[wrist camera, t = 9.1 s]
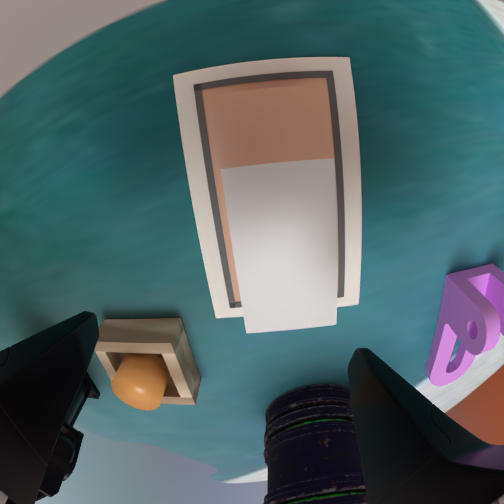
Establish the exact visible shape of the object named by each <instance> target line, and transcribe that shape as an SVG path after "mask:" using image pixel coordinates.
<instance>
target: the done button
mask: <svg viewBox="0 0 504 504" xmlns="http://www.w3.org/2000/svg"><path fill="white" fill-rule="evenodd" d="M169 376H170V372H169V370H168V367H167V365H166V363H165V362H164V361H163V360H162V359H161V358H160V357H159V356H157V355H155V354H151V353H126V354H125V356H124V358H123V360H122V362H121V364H120V366H119V368H118V370H117V372H116V374H115V376H114V378H113V380H112V382H111V388H112V390H113V392H114V393H115V395H116V396H117V397H118V398H119V399H120V400H121V401H123V402H124V403H126V404H128V405H130V406H132V407H134V408H137V409H141V410H154V409H156V408H158V407H159V406H160V404H161V401H162V398H163V395H164V391H165V388H166V385H167V382H168V379H169Z"/></svg>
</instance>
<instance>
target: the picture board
mask: <svg viewBox="0 0 504 504" xmlns="http://www.w3.org/2000/svg"><path fill="white" fill-rule="evenodd" d="M173 81H174V89H175V96H176V104H177V111H178V118H179V125H180V132H181V139H182V145H183V151H184V158H185V164H186V170H187V176H188V182H189V188H190V193H191V199H192V204H193V210H194V215H195V221H196V226H197V231H198V236H199V241H200V246H201V251H202V256H203V261H204V266H205V270H206V275H207V280H208V285H209V289H210V294H211V298H212V303H213V307H214V311H215V316H216V318H228V317H242V316H243V310H242V304H241V298H240V292H239V286H238V280H237V274H236V267H235V261H234V255H233V249H232V242H231V236H230V230H229V223H228V217H227V210H226V204H225V197H224V190H223V184H222V177H221V170H220V163H219V156H218V149H217V142H216V135H215V128H214V121H213V113H212V106H211V99H210V96H211V95H217V94H223V93H230V92H237V91H245V90H253V89H262V88H273V87H285V86H301V85H327V90H328V99H329V107H330V116H331V126H332V137H333V149H334V163H335V178H336V198H337V230H338V286H337V307H342V306H350V305H358V304H359V291H360V273H361V245H362V194H361V166H360V149H359V135H358V123H357V113H356V103H355V95H354V87H353V79H352V72H351V65H350V59H349V57H300V58H282V59H270V60H259V61H250V62H242V63H235V64H228V65H222V66H215V67H210V68H204V69H199V70H194V71H189V72H185V73H180V74H176V75H173Z"/></svg>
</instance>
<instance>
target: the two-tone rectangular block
mask: <svg viewBox="0 0 504 504" xmlns="http://www.w3.org/2000/svg"><path fill="white" fill-rule="evenodd" d="M210 99H211V106H212V113H213V121H214V128H215V135H216V142H217V149H218V156H219V163H220V170H221V177H222V184H223V190H224V197H225V204H226V210H227V217H228V223H229V230H230V236H231V242H232V249H233V255H234V261H235V267H236V274H237V280H238V286H239V292H240V298H241V304H242V310H243V316H244V322H245V327H246V333H258V332H271V331H282V330H293V329H302V328H312V327H320V326H329V325H336V318H337V286H338V230H337V198H336V178H335V163H334V149H333V137H332V126H331V116H330V107H329V99H328V90H327V85H301V86H285V87H273V88H262V89H253V90H245V91H237V92H230V93H223V94H217V95H211V96H210Z"/></svg>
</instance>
